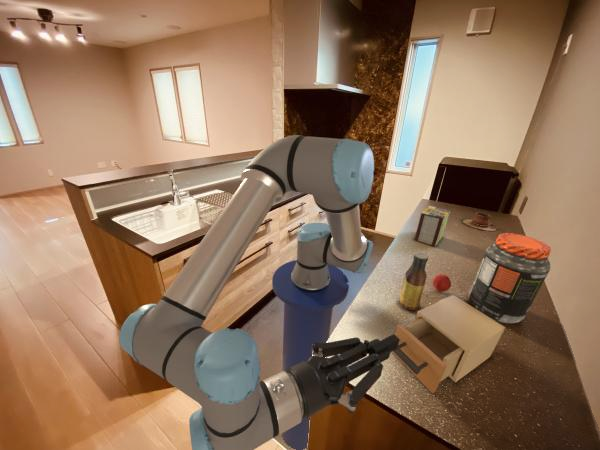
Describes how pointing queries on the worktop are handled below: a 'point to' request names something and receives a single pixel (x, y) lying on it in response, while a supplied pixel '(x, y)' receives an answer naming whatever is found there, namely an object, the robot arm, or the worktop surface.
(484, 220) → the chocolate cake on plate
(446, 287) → the onion
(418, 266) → the sauce bottle
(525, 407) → the worktop surface
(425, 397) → the worktop surface
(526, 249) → the supplement tub
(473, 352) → the cabinet
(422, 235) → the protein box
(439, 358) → the drawer
